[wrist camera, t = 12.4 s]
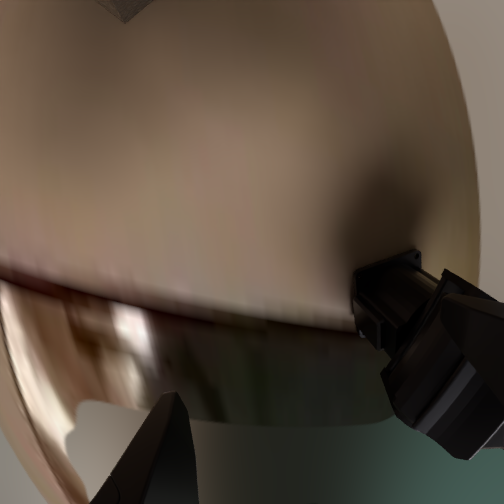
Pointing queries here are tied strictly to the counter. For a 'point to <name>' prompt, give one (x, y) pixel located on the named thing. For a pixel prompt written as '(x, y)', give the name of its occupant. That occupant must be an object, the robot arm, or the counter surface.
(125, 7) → the socket block
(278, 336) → the counter surface
